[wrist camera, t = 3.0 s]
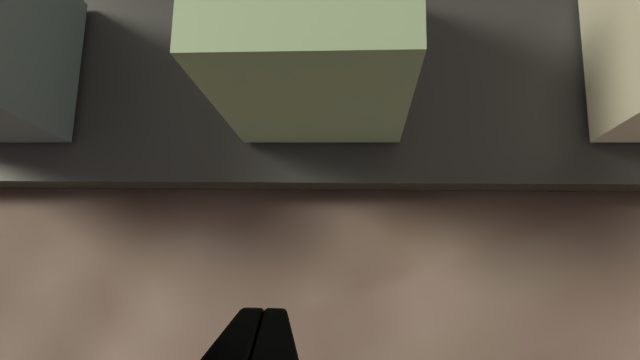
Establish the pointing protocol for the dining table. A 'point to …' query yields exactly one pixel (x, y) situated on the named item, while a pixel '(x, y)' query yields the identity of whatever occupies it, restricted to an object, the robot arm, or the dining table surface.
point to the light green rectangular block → (304, 65)
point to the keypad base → (341, 157)
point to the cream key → (611, 68)
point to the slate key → (39, 69)
